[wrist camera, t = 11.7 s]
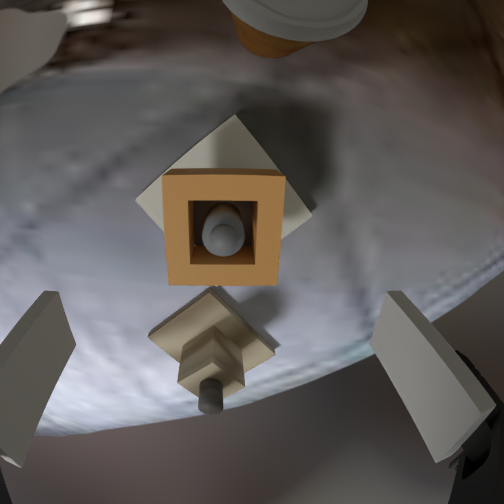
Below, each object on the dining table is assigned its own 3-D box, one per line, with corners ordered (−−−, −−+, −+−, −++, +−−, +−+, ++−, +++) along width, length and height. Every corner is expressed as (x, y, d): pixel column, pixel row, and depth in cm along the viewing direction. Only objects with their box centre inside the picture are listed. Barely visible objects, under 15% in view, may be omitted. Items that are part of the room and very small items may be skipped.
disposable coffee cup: (328, 9, 20) (383, -43, 9) (306, 86, 23) (362, 60, 12) (234, -17, 18) (241, -88, 7) (206, 60, 22) (192, 11, 11)
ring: (175, 264, 24) (168, 285, 21) (171, 168, 21) (161, 175, 18) (270, 264, 25) (277, 285, 22) (276, 169, 22) (285, 176, 18)
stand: (149, 332, 33) (131, 394, 24) (209, 287, 31) (205, 351, 22) (215, 383, 37) (215, 443, 28) (274, 349, 35) (288, 412, 26)
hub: (137, 197, 26) (97, 232, 17) (234, 115, 24) (239, 104, 15) (216, 282, 31) (214, 345, 21) (310, 213, 28) (348, 253, 19)
